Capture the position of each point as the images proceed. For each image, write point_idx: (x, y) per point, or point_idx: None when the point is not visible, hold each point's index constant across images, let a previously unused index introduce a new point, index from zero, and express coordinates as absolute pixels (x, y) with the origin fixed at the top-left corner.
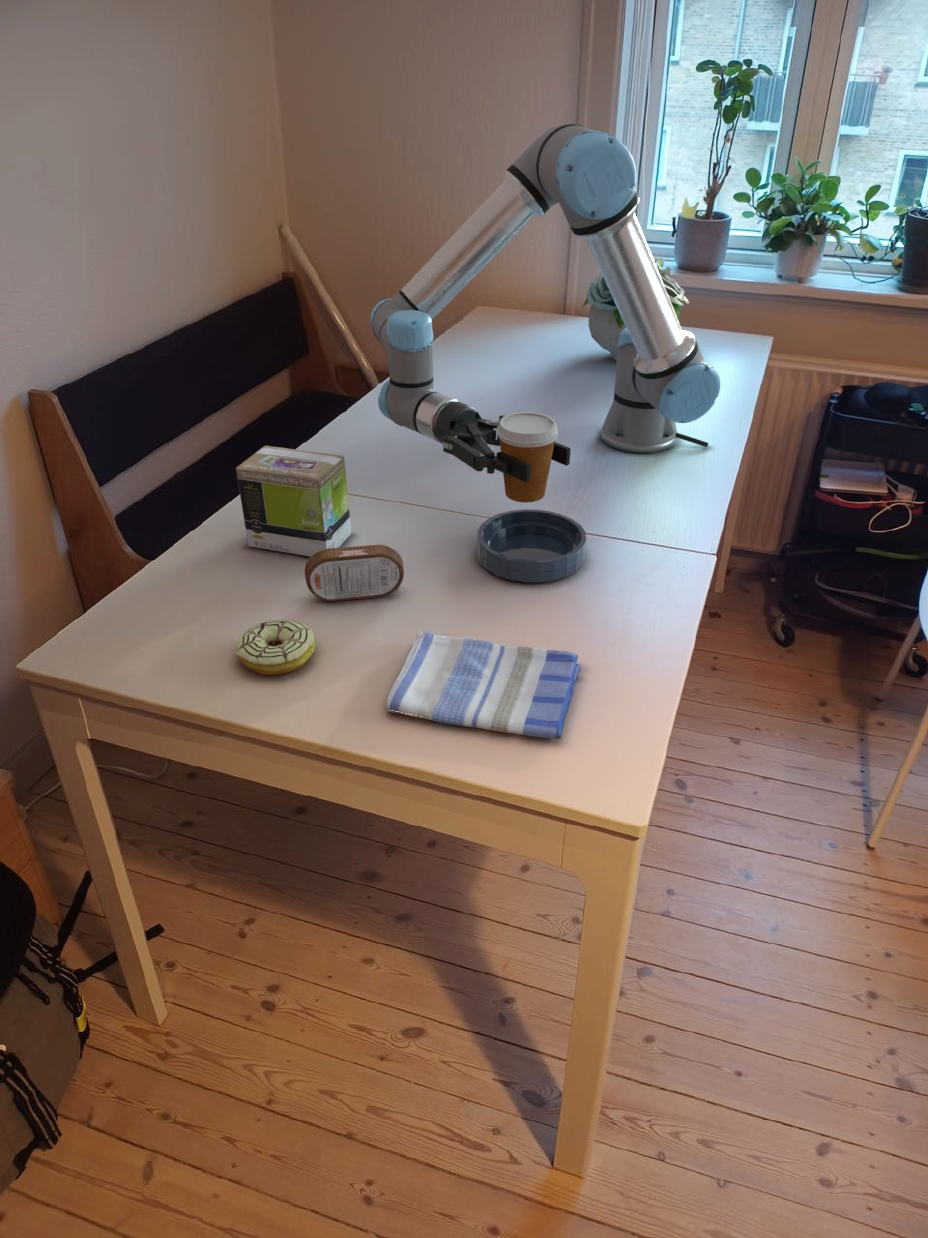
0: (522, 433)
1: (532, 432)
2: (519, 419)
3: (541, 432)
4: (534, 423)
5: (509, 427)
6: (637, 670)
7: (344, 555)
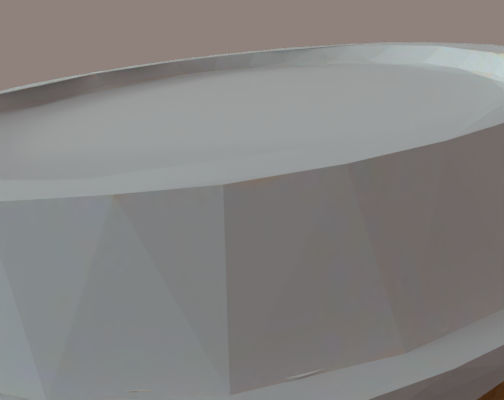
0: (435, 44)
1: (324, 71)
2: (107, 159)
3: (302, 48)
4: (144, 108)
5: (435, 107)
6: None
7: None
